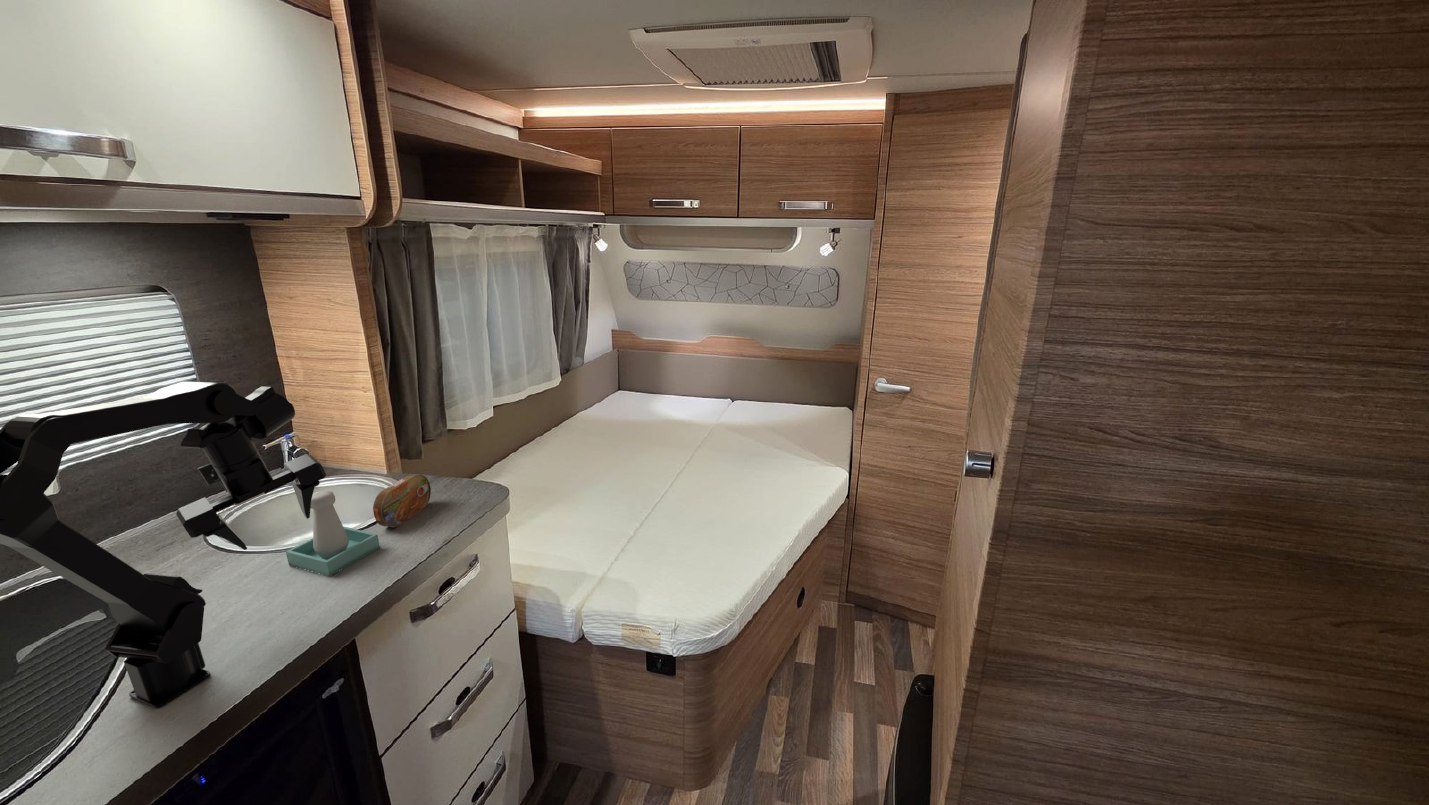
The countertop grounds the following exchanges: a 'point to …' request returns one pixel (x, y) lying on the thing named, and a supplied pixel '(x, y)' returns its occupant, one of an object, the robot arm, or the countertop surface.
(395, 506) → the tin
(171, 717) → the countertop surface
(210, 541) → the countertop surface
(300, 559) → the tray
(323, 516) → the salt shaker
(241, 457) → the robot arm
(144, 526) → the countertop surface
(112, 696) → the countertop surface
